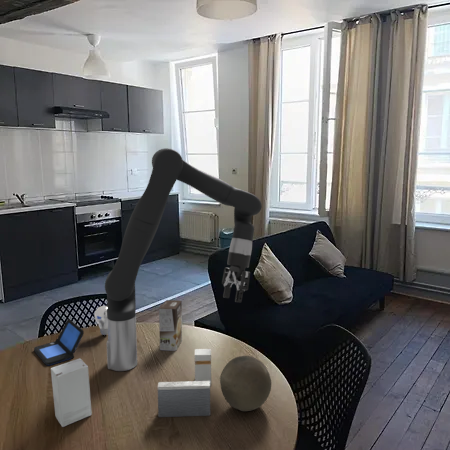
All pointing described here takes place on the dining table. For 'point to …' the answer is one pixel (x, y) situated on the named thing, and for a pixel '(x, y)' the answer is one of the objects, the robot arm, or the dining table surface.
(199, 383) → the grey flat box
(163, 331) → the coffee box
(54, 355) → the handheld game console
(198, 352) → the block
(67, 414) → the skincare box
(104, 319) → the light bulb
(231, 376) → the cantaloupe
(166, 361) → the dining table surface
